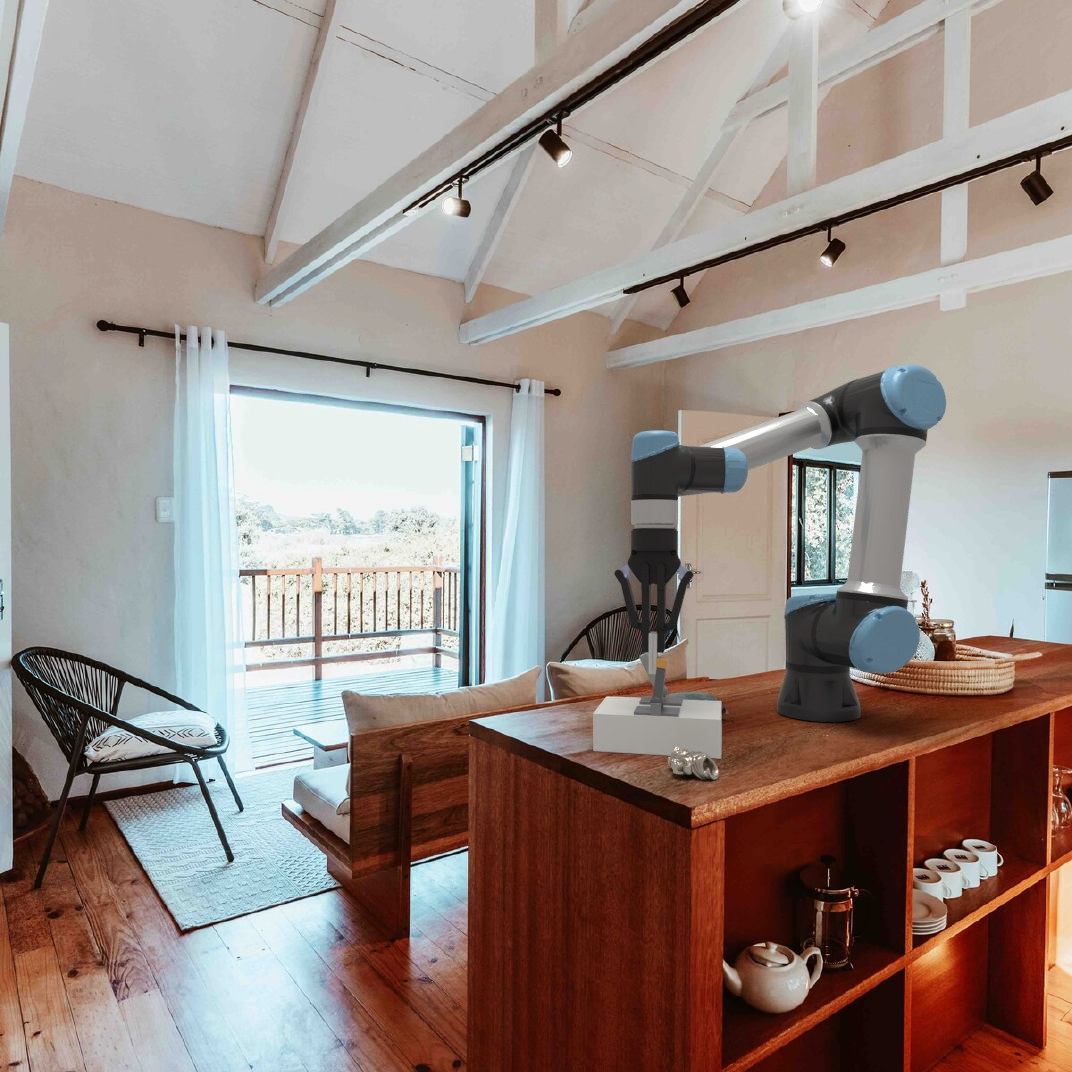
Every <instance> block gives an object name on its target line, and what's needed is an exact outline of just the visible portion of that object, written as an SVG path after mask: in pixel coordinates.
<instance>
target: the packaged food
mask: <svg viewBox="0 0 1072 1072" xmlns="http://www.w3.org/2000/svg"><path fill="white" fill-rule="evenodd" d="M667 697H674V698H683V699H684V700H708V701H719V700H718V699H717V697H716V696H714V695H712V694H710V693H709V692H708V693H707V692H700V691H683V692H677V693H675V692H674V693H669V694H668V696H667ZM721 707H722V716H723V715H725V714H726V715H729V711H728V710H727V708H726V707H725V706H724V705H723V704H722V703H721Z"/></svg>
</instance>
